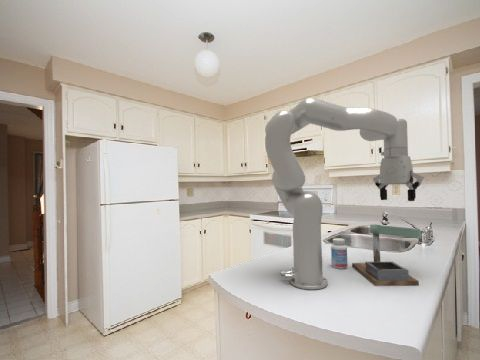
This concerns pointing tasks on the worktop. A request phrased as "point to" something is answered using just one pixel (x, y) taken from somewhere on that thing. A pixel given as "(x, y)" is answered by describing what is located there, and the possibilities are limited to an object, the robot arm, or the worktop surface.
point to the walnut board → (362, 270)
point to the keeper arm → (395, 231)
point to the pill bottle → (339, 254)
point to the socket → (386, 271)
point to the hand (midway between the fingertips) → (397, 200)
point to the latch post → (376, 247)
